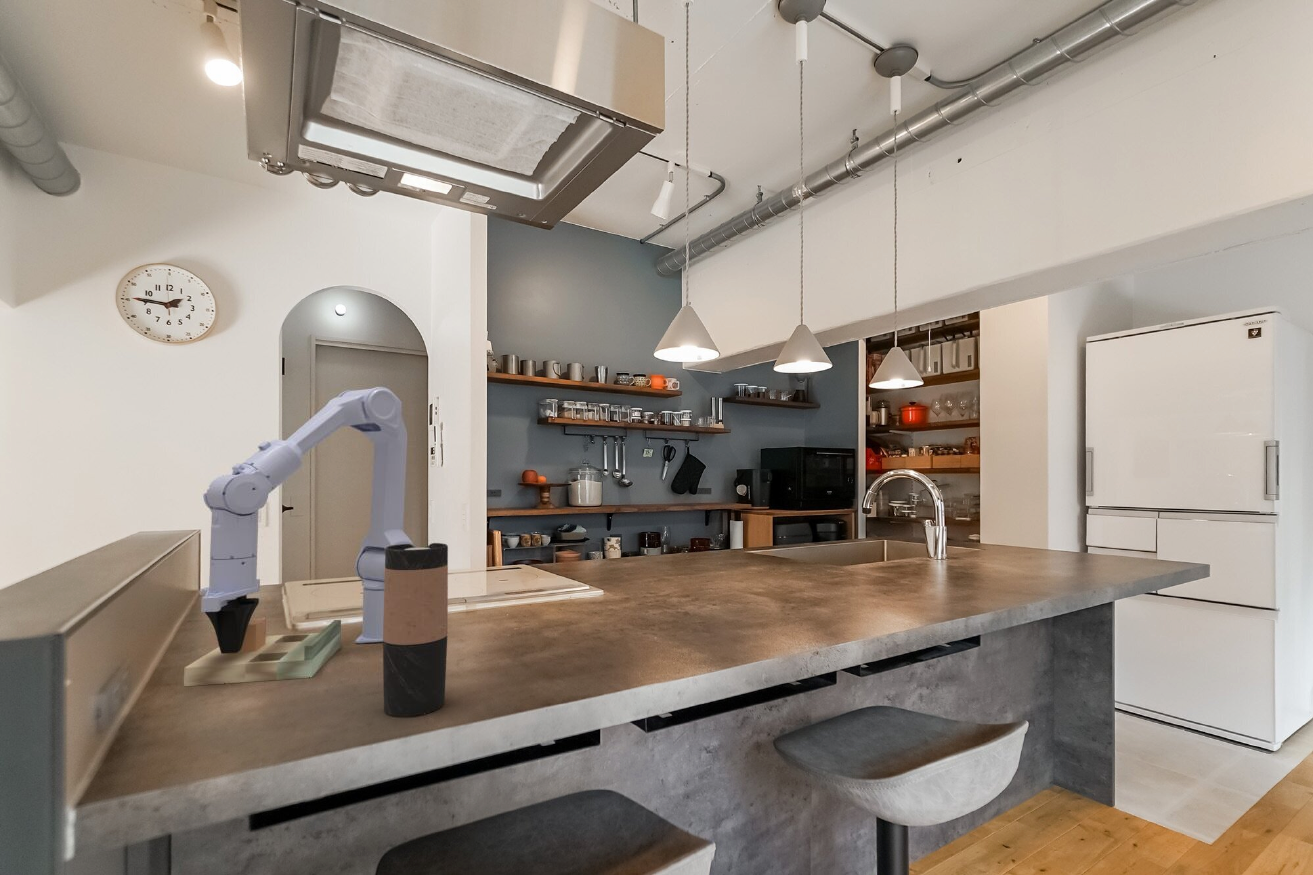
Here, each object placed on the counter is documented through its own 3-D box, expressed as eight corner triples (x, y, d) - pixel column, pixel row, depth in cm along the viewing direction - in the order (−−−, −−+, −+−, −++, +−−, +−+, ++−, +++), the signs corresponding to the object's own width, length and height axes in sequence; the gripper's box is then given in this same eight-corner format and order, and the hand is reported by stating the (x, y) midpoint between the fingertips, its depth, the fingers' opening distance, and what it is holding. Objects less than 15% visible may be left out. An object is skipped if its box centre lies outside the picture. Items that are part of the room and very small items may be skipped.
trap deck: (340, 646, 106) (341, 619, 107) (311, 677, 91) (312, 645, 91) (233, 653, 103) (234, 625, 103) (183, 686, 87) (184, 653, 87)
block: (265, 644, 99) (266, 618, 99) (255, 651, 95) (256, 624, 95) (236, 645, 98) (237, 619, 98) (225, 653, 94) (226, 625, 95)
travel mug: (407, 723, 75) (410, 551, 76) (368, 710, 79) (371, 547, 80) (459, 702, 81) (461, 544, 82) (420, 691, 85) (422, 541, 86)
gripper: (225, 551, 98) (222, 640, 98) (176, 565, 84) (173, 669, 84) (275, 550, 100) (272, 637, 99) (236, 563, 86) (233, 665, 85)
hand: (230, 652), depth 92 cm, fingers closed
